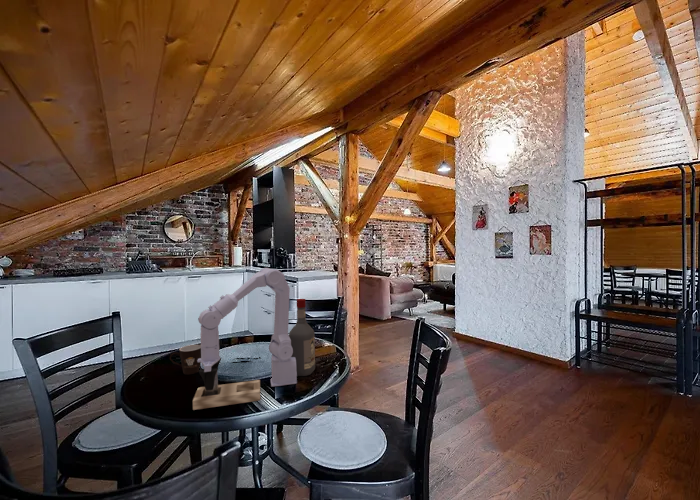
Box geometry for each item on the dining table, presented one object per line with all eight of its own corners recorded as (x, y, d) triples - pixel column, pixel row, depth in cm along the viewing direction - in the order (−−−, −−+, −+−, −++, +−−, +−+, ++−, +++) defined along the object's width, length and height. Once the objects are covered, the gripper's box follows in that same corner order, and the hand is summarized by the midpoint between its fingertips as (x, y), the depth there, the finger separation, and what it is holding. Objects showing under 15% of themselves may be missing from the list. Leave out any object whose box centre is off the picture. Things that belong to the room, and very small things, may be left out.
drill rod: (218, 396, 115) (217, 368, 114) (217, 402, 111) (216, 373, 110) (206, 398, 113) (205, 370, 113) (204, 404, 110) (203, 374, 109)
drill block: (260, 387, 121) (259, 379, 121) (260, 400, 112) (260, 391, 112) (198, 396, 115) (198, 387, 115) (192, 409, 106) (192, 400, 106)
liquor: (287, 375, 132) (286, 301, 132) (296, 366, 141) (295, 297, 140) (308, 377, 130) (307, 301, 129) (316, 368, 139) (315, 297, 138)
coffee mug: (206, 367, 142) (206, 344, 142) (195, 375, 133) (194, 351, 133) (181, 367, 143) (180, 344, 143) (168, 375, 135) (167, 350, 134)
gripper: (200, 340, 117) (201, 377, 118) (193, 353, 103) (194, 396, 104) (221, 338, 119) (222, 375, 120) (217, 351, 105) (218, 392, 106)
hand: (211, 384), depth 112 cm, fingers open, 7 cm apart
